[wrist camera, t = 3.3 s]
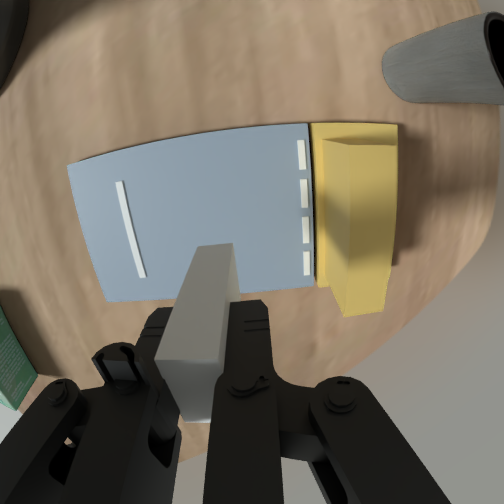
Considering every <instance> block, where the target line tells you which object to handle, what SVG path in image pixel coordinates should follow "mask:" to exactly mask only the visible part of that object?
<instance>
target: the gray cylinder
mask: <svg viewBox="0 0 504 504" xmlns="http://www.w3.org/2000/svg"><path fill="white" fill-rule="evenodd" d="M382 71H383V75H384V78H385V80H386V82H387V84H388V86H389V87H390V89H391V90H392V91H393V92H394V93H395V94H396V95H397V96H398V97H400V98H401V99H403V100H405V101H408V102H411V103H480V104H495V105H504V15H502V14H501V13H498V12H487V13H483V14H480V15H476V16H473V17H469V18H466V19H462V20H459V21H456V22H453V23H450V24H447V25H444V26H441V27H438V28H436V29H433V30H430V31H428V32H425V33H422V34H420V35H417V36H415V37H412V38H410V39H408V40H405V41H403V42H400V43H398V44H396V45H394V46H392V47H391V48H389V49H388V50H387V51H386V52H385V54H384V56H383V60H382Z"/></svg>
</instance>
